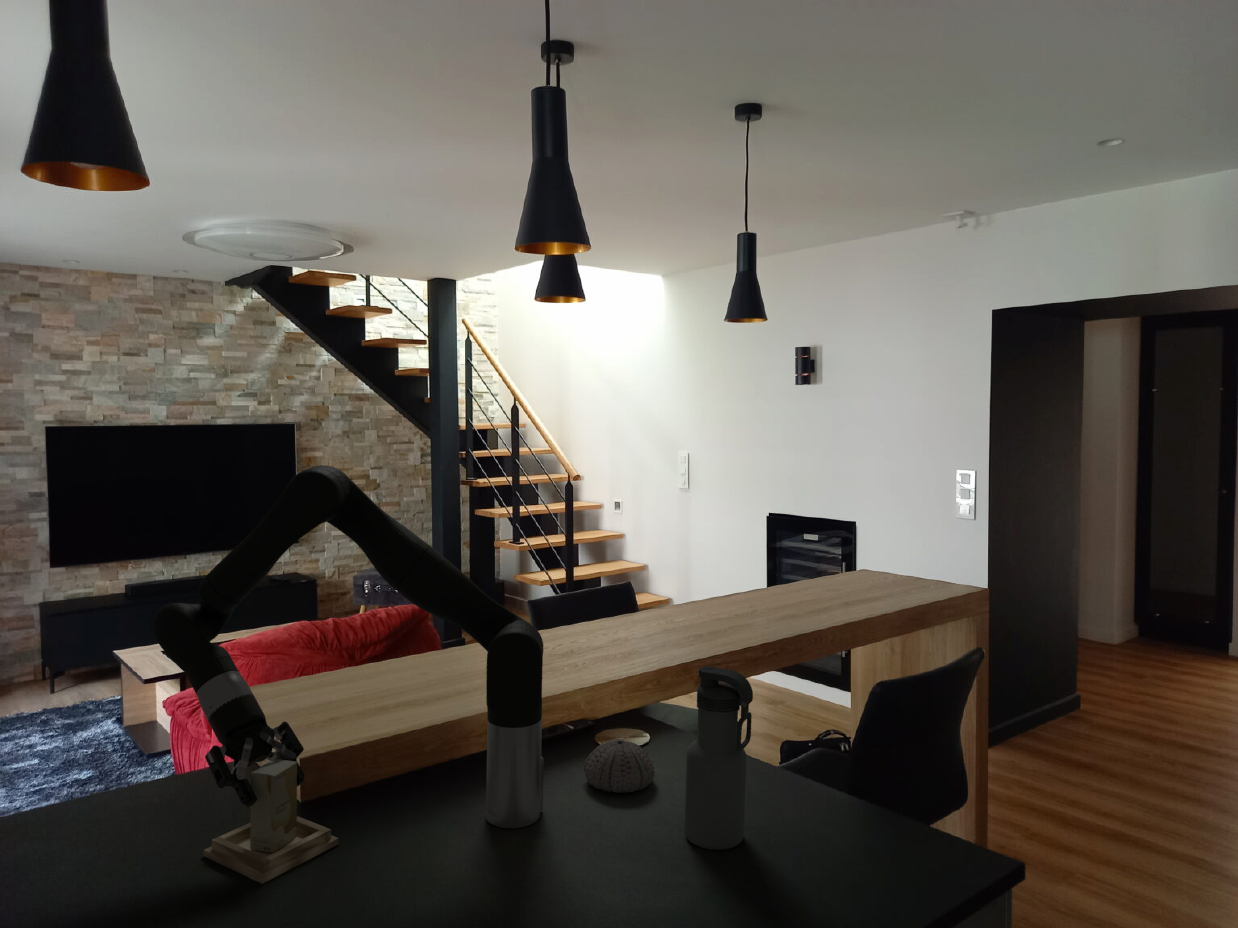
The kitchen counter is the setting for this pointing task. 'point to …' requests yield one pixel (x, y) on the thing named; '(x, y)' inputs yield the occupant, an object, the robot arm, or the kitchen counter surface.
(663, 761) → the kitchen counter surface
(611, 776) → the sea urchin shell
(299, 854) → the tray
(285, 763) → the skincare box
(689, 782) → the water bottle
